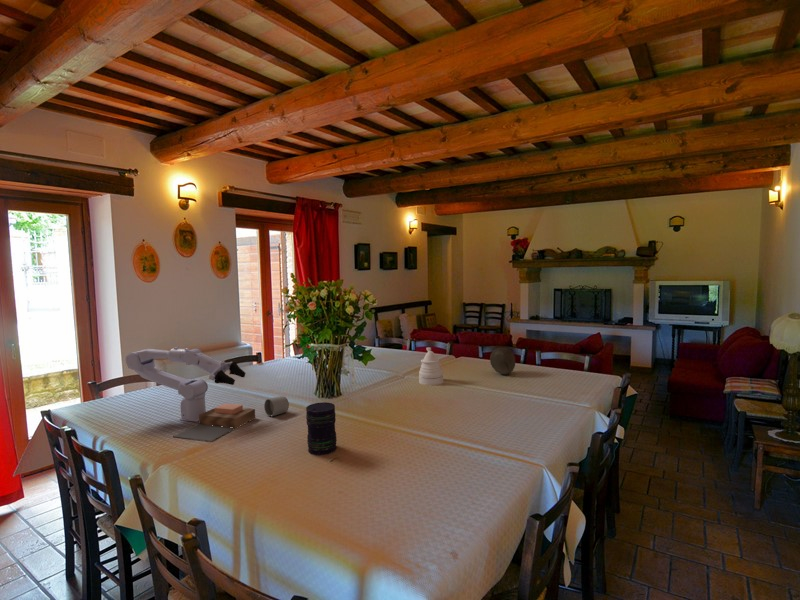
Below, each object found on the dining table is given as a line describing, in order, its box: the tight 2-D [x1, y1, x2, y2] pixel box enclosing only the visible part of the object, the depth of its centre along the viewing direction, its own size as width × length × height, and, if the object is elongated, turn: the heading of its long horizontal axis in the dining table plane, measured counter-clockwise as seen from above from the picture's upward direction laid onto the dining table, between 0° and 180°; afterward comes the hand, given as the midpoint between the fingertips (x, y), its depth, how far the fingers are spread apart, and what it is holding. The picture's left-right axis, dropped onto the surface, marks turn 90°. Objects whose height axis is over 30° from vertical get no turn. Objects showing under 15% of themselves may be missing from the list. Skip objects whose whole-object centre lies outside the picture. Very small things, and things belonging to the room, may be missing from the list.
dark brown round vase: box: [489, 347, 516, 376], centre depth 243 cm, size 14×14×15 cm
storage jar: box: [305, 401, 337, 456], centre depth 149 cm, size 10×10×15 cm
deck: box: [198, 407, 256, 429], centre depth 180 cm, size 18×12×4 cm, turn 72°
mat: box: [172, 423, 236, 442], centre depth 168 cm, size 18×13×1 cm
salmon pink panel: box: [214, 403, 244, 414], centre depth 181 cm, size 9×6×2 cm, turn 72°
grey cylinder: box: [263, 395, 290, 418], centre depth 189 cm, size 11×8×8 cm
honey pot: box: [418, 347, 444, 386], centre depth 231 cm, size 13×13×18 cm
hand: (239, 378), depth 181 cm, fingers open, 7 cm apart
